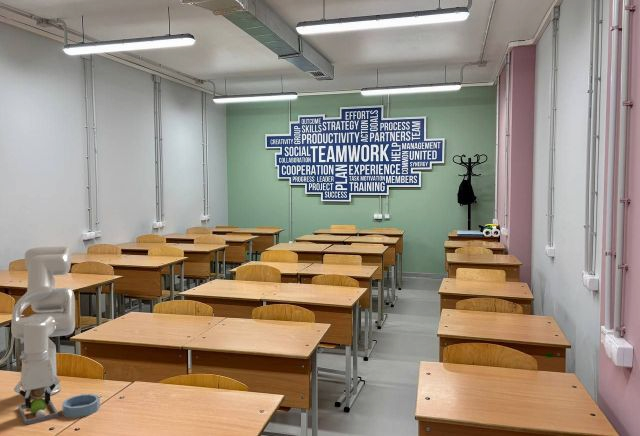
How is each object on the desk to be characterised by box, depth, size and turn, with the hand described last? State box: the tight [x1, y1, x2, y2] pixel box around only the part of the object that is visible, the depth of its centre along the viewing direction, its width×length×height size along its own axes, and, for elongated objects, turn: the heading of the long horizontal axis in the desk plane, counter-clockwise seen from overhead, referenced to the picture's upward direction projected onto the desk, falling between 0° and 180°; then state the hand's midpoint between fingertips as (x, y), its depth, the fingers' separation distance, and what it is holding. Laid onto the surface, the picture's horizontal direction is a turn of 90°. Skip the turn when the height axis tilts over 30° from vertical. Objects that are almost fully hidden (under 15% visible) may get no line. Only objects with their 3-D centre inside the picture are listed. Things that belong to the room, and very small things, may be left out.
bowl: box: [61, 393, 101, 419], centre depth 186 cm, size 12×12×4 cm
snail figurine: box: [28, 388, 47, 415], centre depth 183 cm, size 5×6×12 cm
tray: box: [18, 398, 59, 426], centre depth 183 cm, size 16×10×2 cm, turn 38°
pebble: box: [35, 410, 46, 418], centre depth 179 cm, size 3×3×3 cm
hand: (37, 404), depth 183 cm, fingers closed on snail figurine, 5 cm apart
